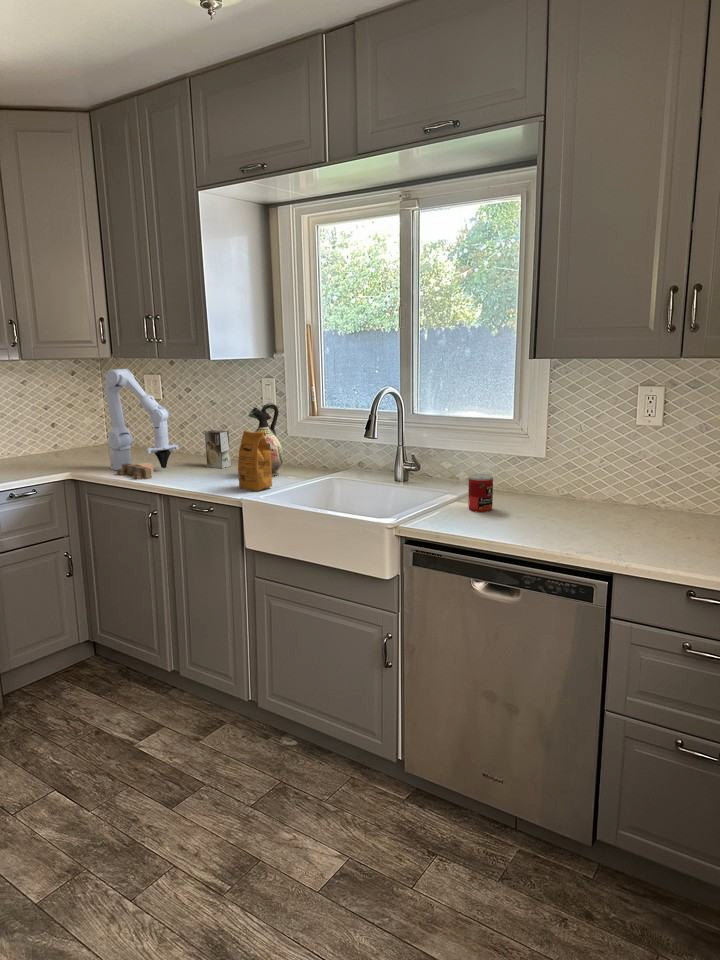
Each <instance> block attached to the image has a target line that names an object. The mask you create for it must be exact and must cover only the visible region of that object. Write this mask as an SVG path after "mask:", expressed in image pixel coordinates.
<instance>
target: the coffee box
mask: <svg viewBox="0 0 720 960" xmlns="http://www.w3.org/2000/svg"><path fill="white" fill-rule="evenodd" d="M229 433H230V432H229V430H218V429H212V430H207V431H204V443H205V455H206V467H207V468H212V467H213V468H215V469H226V468H229V467H231V466H232V464H231V452H230V451H231V450H230V449H231V448H230V435H229ZM225 467H226V468H225Z"/></svg>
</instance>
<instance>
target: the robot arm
mask: <svg viewBox="0 0 720 960" xmlns="http://www.w3.org/2000/svg"><path fill="white" fill-rule="evenodd" d="M104 377H105V386H104V390H105V396H106V397H105V398H106V403H107V406H108V407H107V408H108V413H109V418H110V423H111V429H110V431H109V433H108V445H109V447H110V449H111V451H110V454H109V456H110V457H109V458H110V467H109V468H110V469H111V470H114V471H118V469H122V464H125V463H128V464H132V456H131V455H132V454H131V447H132V445H133V443H134V438H133V436H132V434H131V432H130V429H129V428H128V427H126V423H125V418H124V413H123V407H122V400H121V395H120V390H121V389H122V388H123V387H126V388H128V389H129V390H130V391H131V393H133V394H134V395H135V396H136V397H137V398H138V399H139V400H140V401H139V403H140V405H141V407H143V408H144V410H145V411H146V412H147V413H148V415H150V416H149V419H150V421H151V423H152V426H153V433H154V434H153V435H154V446H153V447H149V448H145V453H146V454H149V455H150V454H152V453H154V455H155V456H156V458H157V460H158V463H159V465H160V468H161V469H166V468H167V466H168V460H169V458H170V456H171V453H172V452H171V451H174V450H179V444H169V443H170V442H169V429H168V428H169V427H168V420H169V419H170V412H169V410H168V409H167V408H166V407H162V405H160V404H159V403H158V402H157V400H155V397H154V396H152V395H150V394H147V393H146V392H145V390H144V389H143V387H141V385H140V384H139V382H138V381H137V380H136V378H135V375H134V374H133V373H132V372H131V371H130V369H128V368H118V369H110V370H108V371H107V372H106V374H105V376H104ZM110 469H109V470H110Z"/></svg>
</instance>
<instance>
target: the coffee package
mask: <svg viewBox="0 0 720 960" xmlns="http://www.w3.org/2000/svg"><path fill="white" fill-rule="evenodd" d="M265 435H266V434H265V432H254V431H253V432H251V431H249V430H247V429H244V430H243V433H242V437H241V441H240V445H239V448H238V449H239V450H238V458H237V460H238V461H237V463H238V464H237V465H238V466H237V475H238V485H239V486H238V487H239V489H240V488H244V489H245V490H246V489H247V490H246V491H248V490H253V491H252V492H260V491H262V490H264V489H268V488H271V487H272V486H273V476H272V469H271V450H270V447H269V445H268V443H267V441H266V439H265ZM244 489H243V490H244Z"/></svg>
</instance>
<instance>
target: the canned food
mask: <svg viewBox="0 0 720 960" xmlns="http://www.w3.org/2000/svg"><path fill="white" fill-rule="evenodd" d="M493 492H494V476H493V475H491V474H485V473H473V474H469V476H468V497H467V498H468V500H467V501H468V503H467V504H468V510H470V511H471V510H472V511H471V512H475V511H477V512H476V513H486V512H485V511H488V512H491V511H492V509H493V499H494V497H493V495H494V493H493ZM490 510H491V511H490Z"/></svg>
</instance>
